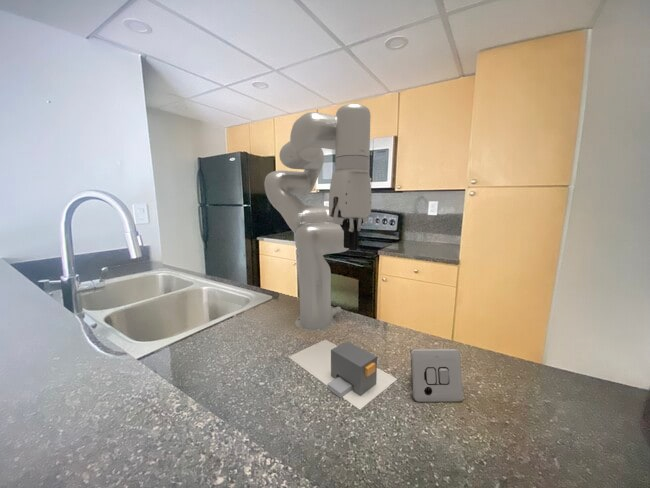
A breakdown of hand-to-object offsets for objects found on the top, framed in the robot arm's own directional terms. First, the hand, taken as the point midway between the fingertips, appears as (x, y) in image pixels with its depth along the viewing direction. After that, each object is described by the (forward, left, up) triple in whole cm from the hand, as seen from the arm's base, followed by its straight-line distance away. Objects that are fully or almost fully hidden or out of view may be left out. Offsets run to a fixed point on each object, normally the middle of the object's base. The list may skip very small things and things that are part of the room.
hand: (350, 247), depth 61 cm
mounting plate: (+7, +3, -27) cm, 28 cm away
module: (+8, +8, -26) cm, 28 cm away
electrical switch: (-2, +20, -27) cm, 34 cm away
